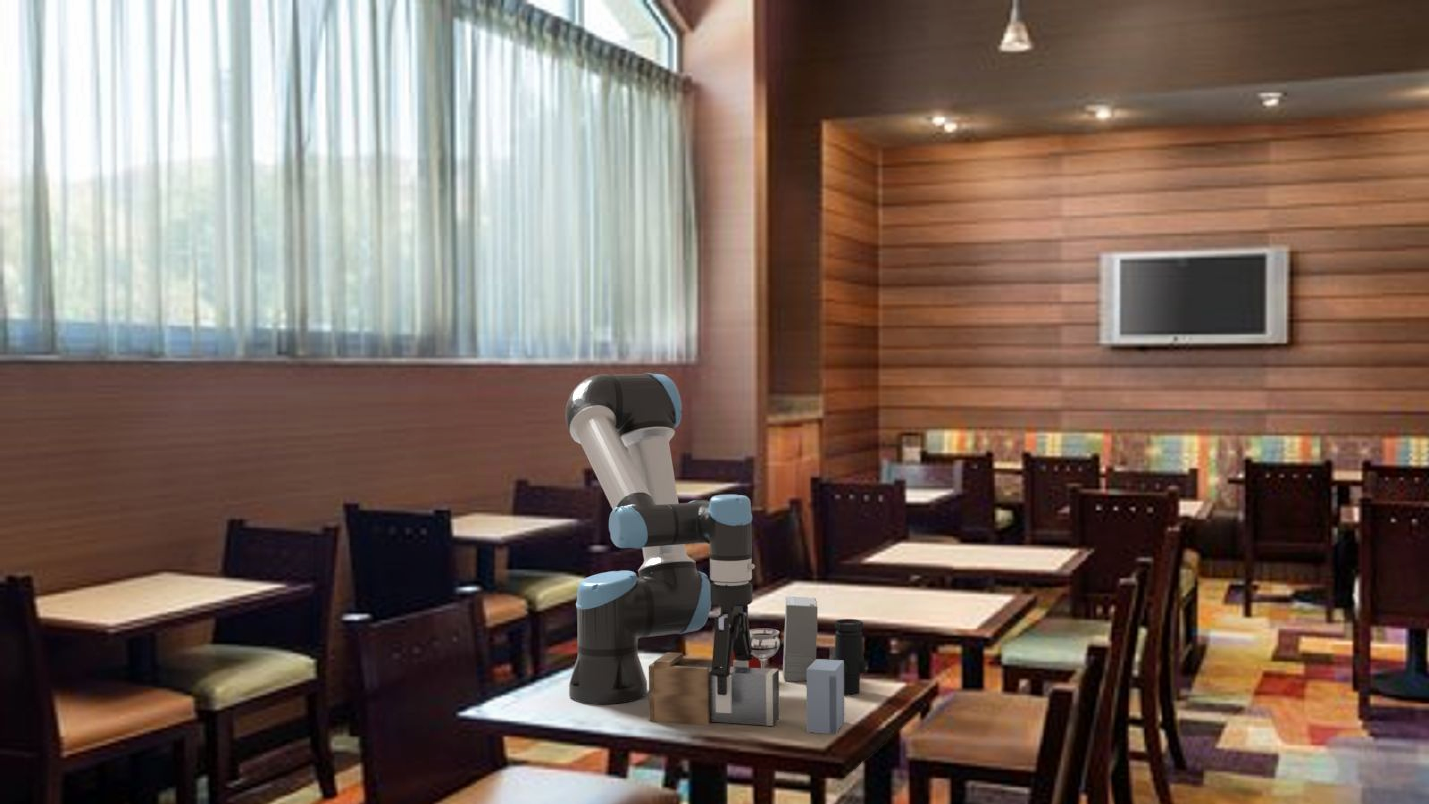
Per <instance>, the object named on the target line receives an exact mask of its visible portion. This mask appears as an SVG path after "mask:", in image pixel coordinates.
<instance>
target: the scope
mask: <svg viewBox="0 0 1429 804" xmlns="http://www.w3.org/2000/svg"><path fill="white" fill-rule="evenodd" d="M834 628H835V629H836V631H835V636H834V638H835V640H834V647H833V646H829V658H825V660H843V661H844V696H857V695H860V694H861V684H860V683H861V681H860V680H861V679H860V677H861V674H867V673H868V672H869V670H870V666H869V663H868V661H865V656H864V640H863V639H864V637H863V631H862V629H863V628H864V622H863V621H862V620H860V619H855V618H854V619H853V618H846V619H845V618H842V619H838V620H836V621H835V622H834Z"/></svg>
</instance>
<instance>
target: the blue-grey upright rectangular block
mask: <svg viewBox="0 0 1429 804" xmlns="http://www.w3.org/2000/svg"><path fill="white" fill-rule="evenodd" d="M806 678H807V681H806V733H810V732H814V733H813V734H826V735H827V734H828V735H836V734H837V733H838V731H839V730H840V729H839V728H841V727H842V725H843V724H844V723H845V695H844V661H843V660H826V658H825V659H824V658H823V659H821V658H819V659H818V658H816V660H815V661H814V662H813V663H812V664H811V665H810V666H809V667H808V668H807V669H806ZM838 729H839V730H838ZM836 732H837V733H836Z"/></svg>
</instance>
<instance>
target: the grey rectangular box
mask: <svg viewBox="0 0 1429 804" xmlns="http://www.w3.org/2000/svg"><path fill="white" fill-rule="evenodd" d="M672 666H687V667H704V668H709V715H710V723H711V722H712V723H713V722H714V723H724V724H725V723H728V724H741V725H756V726H767V727H774V726H775V724H777V722H778V721H779V720H780V678H779V677H780V673H779V672H780V670H779V668H766V667H765V668H747V667H730V674H729V675H731V683H732V712H731V713H719V712H716V683H715V676H711V675H710V671H711V670H712V665H694V664H677V663H675V664H673V665H672ZM720 668H722V667H720Z"/></svg>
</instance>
